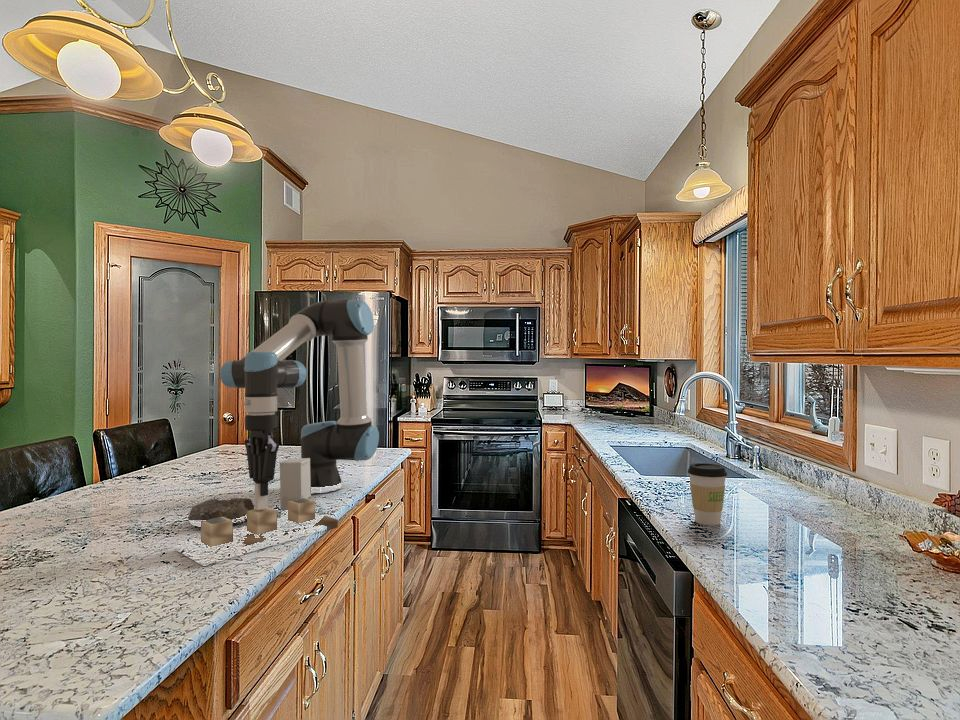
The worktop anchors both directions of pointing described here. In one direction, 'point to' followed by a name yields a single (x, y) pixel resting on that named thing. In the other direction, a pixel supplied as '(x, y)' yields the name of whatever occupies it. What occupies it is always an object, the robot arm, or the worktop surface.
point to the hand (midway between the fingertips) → (261, 508)
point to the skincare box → (294, 480)
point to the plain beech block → (261, 520)
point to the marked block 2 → (301, 510)
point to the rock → (221, 509)
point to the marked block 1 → (216, 531)
